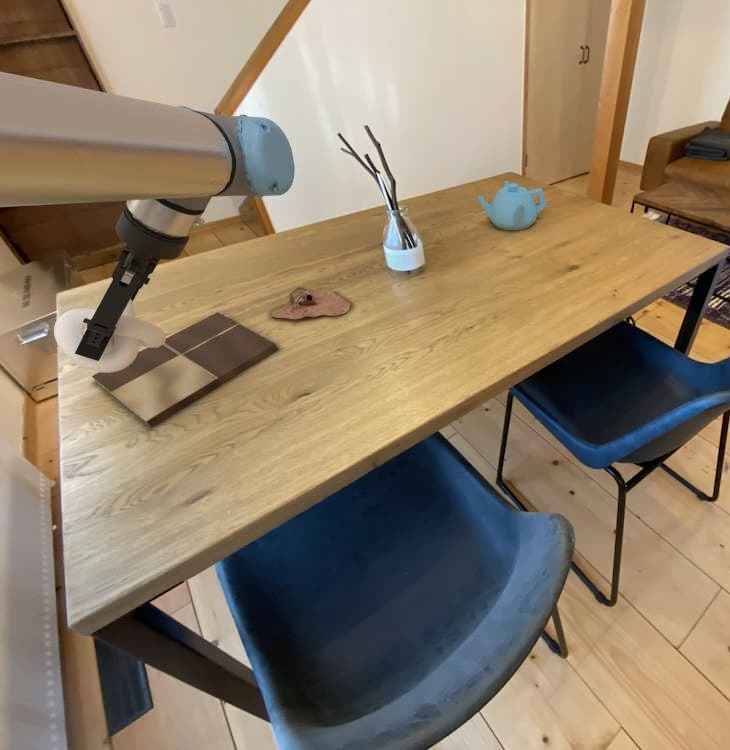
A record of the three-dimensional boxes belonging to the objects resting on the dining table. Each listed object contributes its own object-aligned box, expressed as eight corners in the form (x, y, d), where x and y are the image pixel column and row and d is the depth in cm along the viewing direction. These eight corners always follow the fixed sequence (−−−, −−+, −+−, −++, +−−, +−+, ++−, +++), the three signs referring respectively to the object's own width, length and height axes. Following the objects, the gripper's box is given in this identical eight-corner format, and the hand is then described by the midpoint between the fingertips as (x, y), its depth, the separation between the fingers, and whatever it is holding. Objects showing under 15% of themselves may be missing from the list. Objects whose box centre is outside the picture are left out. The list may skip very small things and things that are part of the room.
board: (151, 427, 71) (145, 420, 70) (96, 382, 79) (90, 375, 78) (278, 349, 86) (275, 342, 85) (220, 317, 94) (217, 311, 93)
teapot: (521, 238, 121) (521, 199, 113) (477, 226, 127) (475, 188, 119) (547, 219, 130) (550, 181, 122) (505, 208, 136) (505, 172, 129)
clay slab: (360, 298, 99) (357, 286, 97) (324, 331, 90) (320, 319, 88) (307, 287, 103) (303, 275, 101) (267, 317, 94) (262, 305, 92)
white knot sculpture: (190, 331, 74) (161, 285, 68) (148, 379, 65) (111, 331, 59) (124, 332, 74) (90, 286, 68) (73, 380, 66) (29, 332, 60)
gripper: (169, 277, 54) (105, 392, 61) (206, 205, 70) (152, 302, 78) (92, 242, 49) (33, 371, 56) (151, 174, 66) (99, 281, 73)
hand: (102, 332), depth 67 cm, fingers closed on white knot sculpture, 11 cm apart
